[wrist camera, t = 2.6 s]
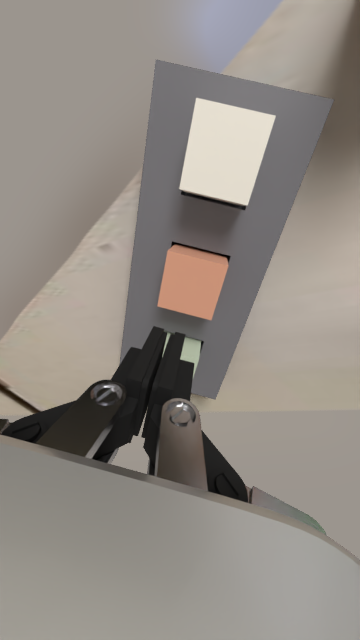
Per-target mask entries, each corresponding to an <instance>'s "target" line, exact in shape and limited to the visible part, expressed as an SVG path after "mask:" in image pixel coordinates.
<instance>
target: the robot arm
mask: <svg viewBox="0 0 360 640" xmlns="http://www.w3.org/2000/svg"><path fill="white" fill-rule="evenodd" d="M185 336H186V334H183V333H179V332H175V334H170V337H169V339H168V342H167V345H166V348H165V351H164V346H165V342H166V337H167V332H164V329H163V328H159V327H156V326H153V328H152V330H151V332H150V334H149V336H148V338H147V340H146V342H145V343H144V345H143V347H142V349H139V348H135V347H131V348H130V349H129V351H128V352H127V354H126V356H125V357H124V359H123V360H122V362H121V364H120V365H119V367H118V369H117V370H116V372H115V374H114V375H113V377H112V379H111V380H101V381H98V382H96V383H94V384H92V385H91V386H90V387H89V388H88V389H87V390H86V391H85V392H84V393H83V394H82V395H81V396H80V397H79V398H78V399H77V400H76V401H73V402H70V403H67V404H64V405H60V406H57V407H54V408H51V409H48V410H45V411H42V412H39V413H36V414H33V415H30V416H27V417H24V418H21V419H19V420H17V421H15V422H13V423H10V422H9V420H8V419H0V640H360V560H359V559H358V558H357V557H356V556H355V555H353V554H352V553H351V552H350V551H348V550H347V549H345V548H344V547H343V546H341V545H340V544H338V543H337V542H335V541H334V540H333V539H331V538H330V537H328V536H327V535H326V533H325V531H324V529H323V528H322V527H321V526H320V525H319V524H318V522H317V521H316V520H314V519H313V518H312V517H310V516H309V515H307V514H305V513H304V512H302V511H300V510H298V509H296V508H294V507H292V506H290V505H288V504H286V503H284V502H283V501H280V500H279V499H277V498H275V497H273V496H271V495H269V494H267V493H266V492H264V491H262V490H260V489H258V488H256V487H254V486H253V487H252V489H251V488H249V487H247V486H245V484H244V482H243V481H242V479H241V478H240V476H239V475H238V474H237V473H236V471H235V470H234V469H233V468H232V467H231V465H230V464H229V463H228V462H227V461H226V459H225V458H224V457H223V456H222V454H221V453H220V452H219V451H218V449H217V448H216V447H215V446H214V445H213V443H211V441H210V440H209V439H208V437H207V436H206V435H205V434H204V432H203V431H202V430H201V422H200V415H199V411H198V409H197V408H196V406H195V405H193V404H192V403H191V402H190V396H191V388H192V380H193V373H194V363H192V362H189V361H185V360H181V359H180V358H181V353H182V349H183V344H184V340H185ZM163 351H164V354H163ZM162 355H163V357H162ZM147 407H148V409H147ZM146 410H147V414H146V418H145V423H144V428H143V432H142V437H143V438H145V443H144V446H143V447H144V449H145V451H146V453H147V454H148V456H149V463H148V471H147V474H144V473H140V472H137V471H133V470H129V469H126V468H122V467H119V466H115V465H111V463H112V461H113V459H114V458H115V456H116V454H117V452H118V448H119V447H121V446H123V445H125V444H127V443H131V440H132V437H133V435H135V436H138V434H139V431H140V428H141V425H142V422H143V419H144V416H145V413H146Z"/></svg>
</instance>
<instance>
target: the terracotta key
mask: <svg viewBox="0 0 360 640" xmlns="http://www.w3.org/2000/svg"><path fill="white" fill-rule="evenodd" d="M228 266H229V265H228V260H227V256H226V255H222V254H218V253H214V252H211V251H207V250H203V249H199V248H195V247H191V246H187V245H183V244H179V243H176V244H175V245H173V246H172V247H171V248H170V249H169V250H168V251H167V257H166V262H165V267H164V273H163V278H162V283H161V289H160V294H159V300H158V305H157V306H158V307H162V308H166V309H169V310H173V311H177V312H181V313H185V314H189V315H192V316H196V317H200V318H204V319H208V320H212V317H213V314H214V310H215V307H216V304H217V301H218V298H219V295H220V291H221V288H222V285H223V282H224V279H225V276H226V272H227V269H228Z"/></svg>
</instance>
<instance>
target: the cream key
mask: <svg viewBox="0 0 360 640" xmlns="http://www.w3.org/2000/svg"><path fill="white" fill-rule="evenodd" d="M275 117H276V116H275V115H270V114H266V113H261V112H257V111H253V110H248V109H244V108H240V107H235V106H231V105H226V104H222V103H218V102H213V101H209V100H205V99H200V98H196V101H195V107H194V112H193V117H192V123H191V128H190V133H189V139H188V144H187V150H186V155H185V160H184V166H183V171H182V176H181V182H180V187H179V189H180V190H182V191H184V192H186V193H190V194H194V195H198V196H202V197H206V198H210V199H215V200H219V201H223V202H227V203H231V204H235V205H239V206H248V203H249V200H250V196H251V193H252V190H253V187H254V184H255V181H256V177H257V174H258V171H259V168H260V165H261V162H262V158H263V155H264V152H265V149H266V146H267V143H268V139H269V136H270V133H271V130H272V127H273V124H274V120H275Z"/></svg>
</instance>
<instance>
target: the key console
mask: <svg viewBox="0 0 360 640" xmlns="http://www.w3.org/2000/svg"><path fill="white" fill-rule="evenodd" d="M154 72H155V73H154V80H153V88H152V97H151V105H150V114H149V122H148V130H147V139H146V147H145V155H144V164H143V172H142V181H141V189H140V197H139V206H138V214H137V223H136V231H135V240H134V248H133V256H132V265H131V273H130V282H129V290H128V298H127V307H126V315H125V324H124V332H123V340H122V349H121V357H120V364H121V362H122V360H123V359H124V357H125V356H126V354H127V352H128V351H129V349H130V348H131V347H135V348H139V349H142V347H143V345H144V343H145V342H146V340H147V338H148V336H149V334H150V332H151V330H152V328H153V326H156V327H159V328H163V329H164V331H168V332H171V333H175V332H179V333H183V334H186V337H190V338H194V339H198V340H201V347H200V356H199V361H198V364H197V367H196V371H195V374H194V377H193V380H192V388H191V393H193V394H197V395H201V396H204V397H208V398H212V399H216V397H217V394H218V392H219V389H220V386H221V384H222V381H223V379H224V376H225V374H226V371H227V369H228V366H229V364H230V361H231V359H232V356H233V354H234V351H235V349H236V346H237V344H238V341H239V339H240V336H241V333H242V331H243V328H244V326H245V323H246V321H247V318H248V316H249V313H250V311H251V308H252V306H253V303H254V301H255V298H256V296H257V293H258V291H259V288H260V286H261V283H262V280H263V278H264V275H265V273H266V270H267V268H268V265H269V263H270V260H271V258H272V255H273V253H274V250H275V248H276V245H277V243H278V240H279V238H280V235H281V233H282V230H283V228H284V225H285V222H286V220H287V217H288V215H289V212H290V210H291V207H292V205H293V202H294V200H295V197H296V195H297V192H298V190H299V187H300V185H301V182H302V180H303V177H304V175H305V172H306V169H307V167H308V164H309V162H310V159H311V157H312V154H313V152H314V149H315V147H316V144H317V142H318V139H319V137H320V134H321V132H322V129H323V127H324V124H325V122H326V119H327V117H328V114H329V111H330V109H331V106H332V104H333V101H334V99H330V98H325V97H321V96H316V95H312V94H307V93H303V92H299V91H294V90H290V89H285V88H281V87H276V86H272V85H267V84H263V83H258V82H254V81H249V80H245V79H241V78H236V77H232V76H227V75H223V74H218V73H213V72H209V71H204V70H200V69H196V68H191V67H187V66H183V65H178V64H174V63H169V62H165V61H160V60H156V64H155V71H154ZM196 98H200V99H205V100H209V101H213V102H218V103H222V104H226V105H231V106H235V107H240V108H244V109H248V110H253V111H257V112H261V113H266V114H270V115H275V116H276V117H275V120H274V124H273V127H272V130H271V133H270V136H269V139H268V143H267V146H266V149H265V152H264V155H263V158H262V162H261V165H260V168H259V171H258V174H257V177H256V181H255V184H254V187H253V190H252V193H251V196H250V200H249V203H248V206H239V205H235V204H231V203H227V202H223V201H219V200H215V199H210V198H206V197H202V196H198V195H194V194H190V193H186V192H184V191H182V190H180V189H179V187H180V182H181V176H182V171H183V166H184V160H185V155H186V150H187V144H188V139H189V133H190V128H191V123H192V117H193V112H194V107H195V101H196ZM176 243H179V244H183V245H187V246H191V247H195V248H199V249H203V250H207V251H211V252H214V253H218V254H222V255H226V256H227V260H228V265H229V266H228V269H227V272H226V276H225V279H224V282H223V285H222V288H221V291H220V295H219V298H218V301H217V304H216V307H215V310H214V314H213V317H212V320H208V319H204V318H200V317H196V316H192V315H189V314H185V313H181V312H177V311H173V310H169V309H166V308H162V307H158V306H157V305H158V300H159V294H160V289H161V283H162V278H163V273H164V267H165V262H166V257H167V251H168V250H169V249H170V248H171V247H172V246H173V245H175V244H176Z"/></svg>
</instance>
